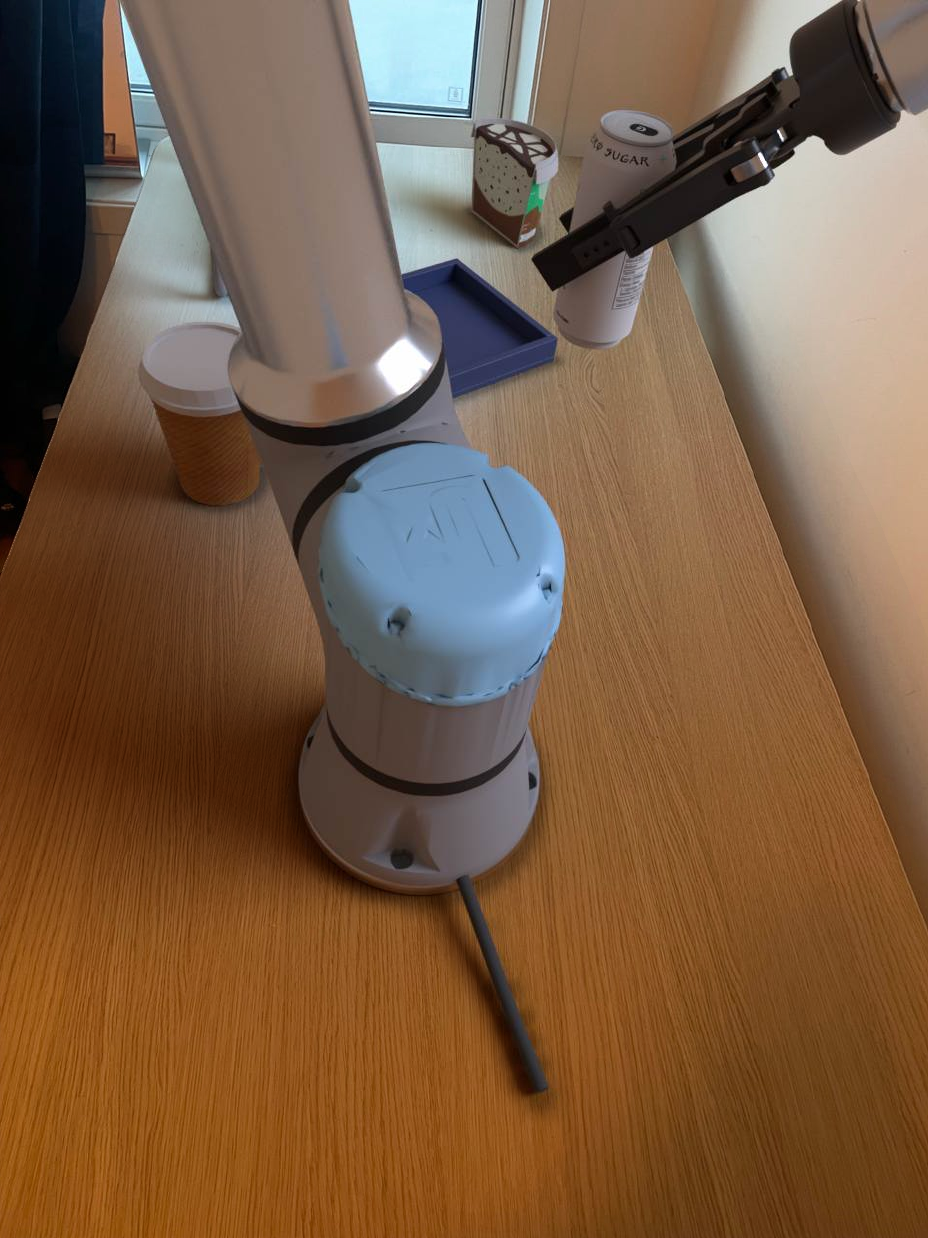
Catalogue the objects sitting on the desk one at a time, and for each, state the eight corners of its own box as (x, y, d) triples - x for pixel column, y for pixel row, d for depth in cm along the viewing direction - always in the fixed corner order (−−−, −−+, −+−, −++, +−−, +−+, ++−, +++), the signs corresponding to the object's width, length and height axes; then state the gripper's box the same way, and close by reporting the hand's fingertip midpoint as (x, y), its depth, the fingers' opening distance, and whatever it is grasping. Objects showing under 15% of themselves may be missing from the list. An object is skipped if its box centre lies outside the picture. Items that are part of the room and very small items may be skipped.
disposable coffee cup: (256, 530, 74) (243, 406, 65) (140, 505, 74) (111, 378, 65) (294, 455, 80) (288, 332, 71) (187, 433, 80) (167, 307, 71)
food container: (567, 243, 108) (584, 154, 100) (525, 254, 105) (539, 164, 98) (505, 195, 114) (516, 108, 106) (464, 205, 111) (472, 117, 104)
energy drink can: (574, 300, 74) (617, 97, 63) (642, 329, 72) (698, 126, 61) (536, 332, 71) (574, 124, 59) (606, 363, 69) (659, 155, 57)
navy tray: (553, 360, 93) (558, 337, 91) (415, 412, 85) (417, 388, 83) (454, 280, 100) (457, 257, 98) (320, 321, 93) (320, 297, 91)
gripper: (897, 182, 49) (546, 361, 63) (914, 66, 61) (616, 239, 76) (837, 45, 45) (482, 267, 60) (867, -49, 57) (565, 155, 72)
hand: (557, 251), depth 68 cm, fingers closed on energy drink can, 6 cm apart
